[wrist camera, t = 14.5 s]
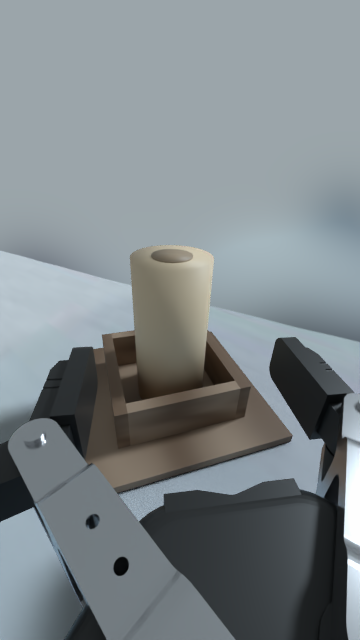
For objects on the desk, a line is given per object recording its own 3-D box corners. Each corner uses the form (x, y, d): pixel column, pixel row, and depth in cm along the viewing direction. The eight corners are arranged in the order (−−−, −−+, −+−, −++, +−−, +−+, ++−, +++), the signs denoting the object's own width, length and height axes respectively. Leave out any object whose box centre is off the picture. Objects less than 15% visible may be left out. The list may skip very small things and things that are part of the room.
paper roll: (188, 362, 26) (195, 241, 20) (212, 402, 21) (229, 264, 16) (132, 373, 24) (123, 246, 19) (146, 419, 20) (140, 272, 14)
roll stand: (210, 336, 31) (213, 307, 29) (290, 441, 19) (303, 404, 18) (78, 356, 27) (72, 324, 25) (80, 504, 15) (70, 464, 14)
